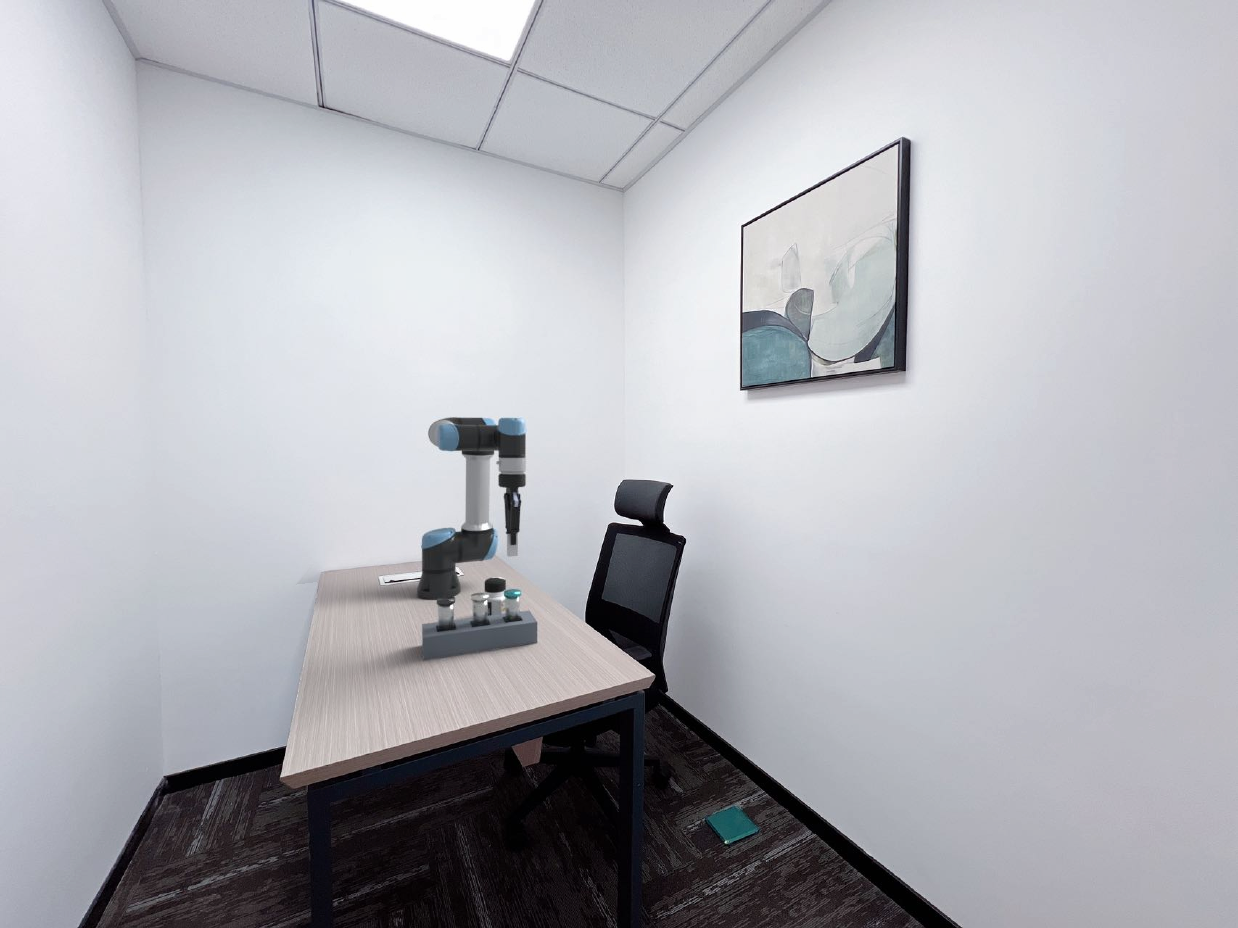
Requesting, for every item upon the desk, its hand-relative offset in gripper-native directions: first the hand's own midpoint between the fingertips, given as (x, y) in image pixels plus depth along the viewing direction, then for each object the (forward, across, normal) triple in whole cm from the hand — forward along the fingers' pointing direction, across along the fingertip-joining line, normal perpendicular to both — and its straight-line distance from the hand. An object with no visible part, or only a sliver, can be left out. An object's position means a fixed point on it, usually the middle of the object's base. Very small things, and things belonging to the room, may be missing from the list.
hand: (512, 555), depth 144 cm
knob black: (+19, 0, -18) cm, 26 cm away
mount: (+24, 0, -9) cm, 26 cm away
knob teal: (+19, 0, 0) cm, 19 cm away
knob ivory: (+19, 0, -9) cm, 21 cm away
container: (+25, -18, -2) cm, 31 cm away
